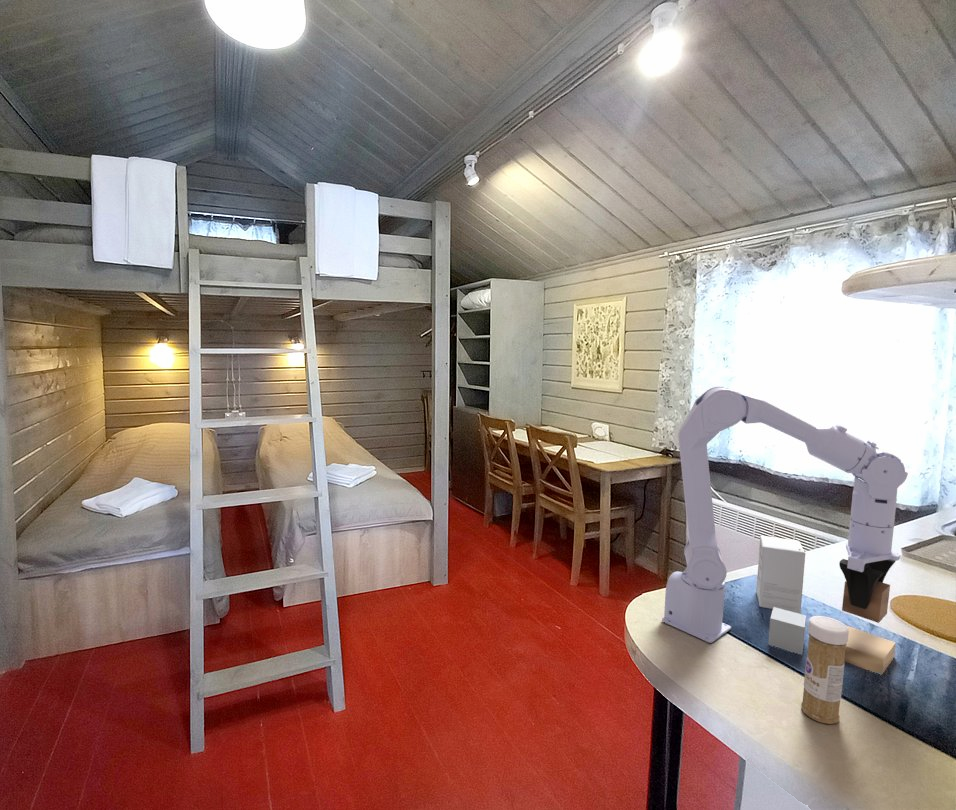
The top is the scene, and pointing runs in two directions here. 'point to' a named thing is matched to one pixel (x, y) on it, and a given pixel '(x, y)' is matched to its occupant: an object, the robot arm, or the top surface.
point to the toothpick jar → (824, 669)
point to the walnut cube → (876, 605)
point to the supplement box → (780, 573)
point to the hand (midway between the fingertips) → (863, 601)
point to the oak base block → (868, 650)
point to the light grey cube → (787, 630)
